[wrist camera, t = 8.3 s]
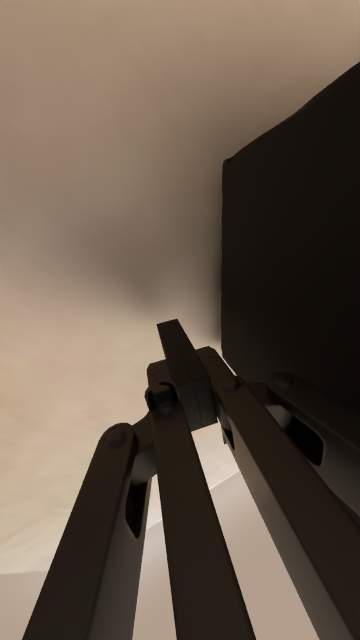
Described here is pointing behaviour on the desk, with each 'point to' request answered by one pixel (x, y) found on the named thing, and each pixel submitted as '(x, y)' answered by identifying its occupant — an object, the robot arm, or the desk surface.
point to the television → (297, 248)
